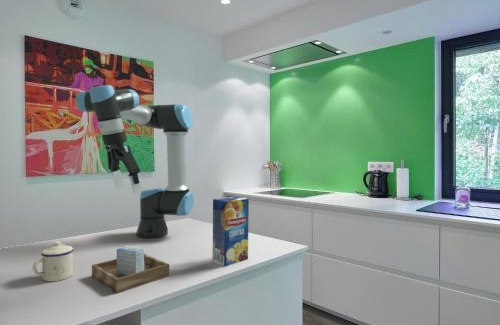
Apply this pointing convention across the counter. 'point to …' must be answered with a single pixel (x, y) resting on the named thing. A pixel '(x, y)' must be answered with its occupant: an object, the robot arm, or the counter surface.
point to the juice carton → (230, 230)
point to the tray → (120, 283)
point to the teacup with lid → (56, 262)
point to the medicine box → (130, 260)
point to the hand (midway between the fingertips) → (129, 190)
